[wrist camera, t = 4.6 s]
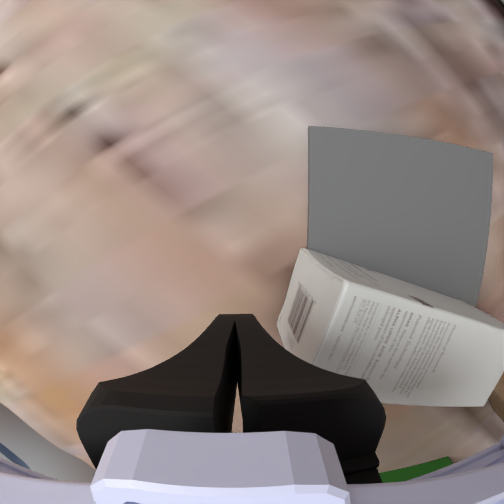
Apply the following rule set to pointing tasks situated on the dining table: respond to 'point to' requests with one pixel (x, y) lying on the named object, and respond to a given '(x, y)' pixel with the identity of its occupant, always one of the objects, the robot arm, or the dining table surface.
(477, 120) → the dining table surface
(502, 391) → the wooden block
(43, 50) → the dining table surface
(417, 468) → the hardback book
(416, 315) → the skincare box
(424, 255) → the mat
